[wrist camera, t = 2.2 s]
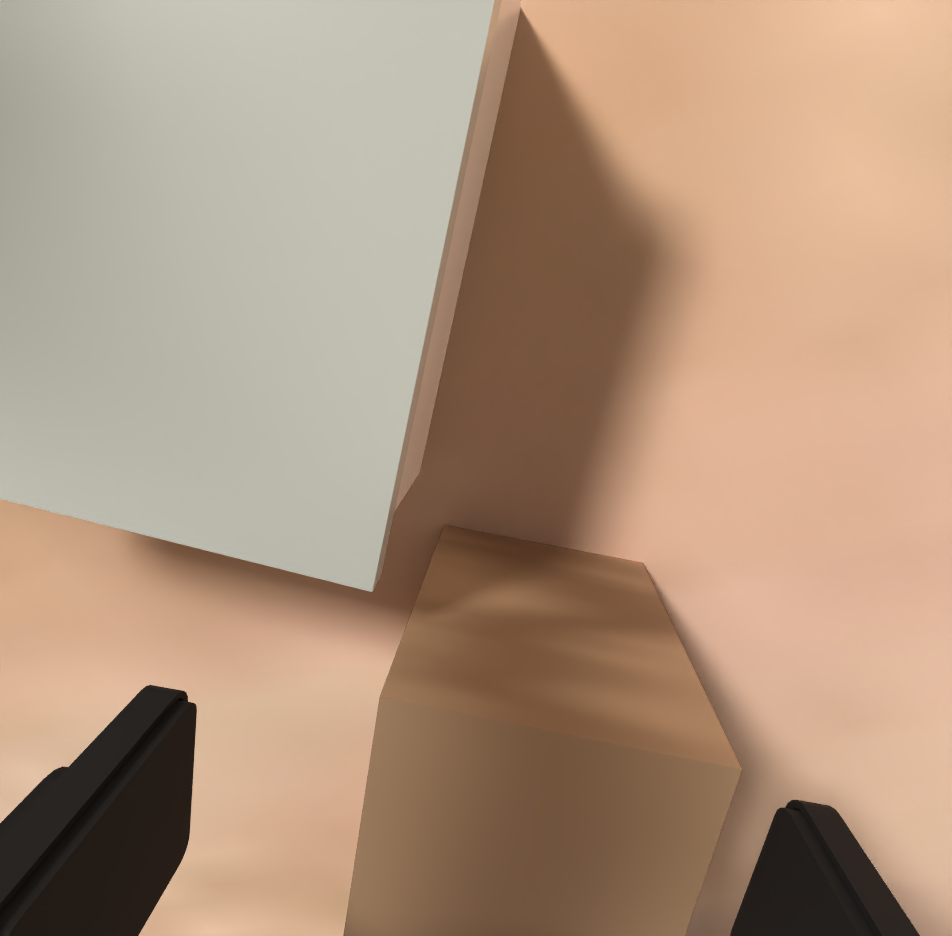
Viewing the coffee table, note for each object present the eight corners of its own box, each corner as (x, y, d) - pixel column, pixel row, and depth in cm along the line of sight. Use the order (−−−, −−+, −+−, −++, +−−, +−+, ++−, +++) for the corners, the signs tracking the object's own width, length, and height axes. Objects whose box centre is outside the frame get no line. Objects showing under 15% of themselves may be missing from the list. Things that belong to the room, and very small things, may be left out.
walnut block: (642, 562, 15) (742, 770, 8) (598, 732, 16) (651, 1032, 9) (444, 524, 15) (379, 696, 8) (415, 695, 16) (338, 965, 10)
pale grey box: (538, -2, 12) (553, -283, 6) (430, 484, 15) (372, 592, 9) (38, -119, 12) (-387, -496, 7) (22, 383, 15) (-289, 426, 9)
